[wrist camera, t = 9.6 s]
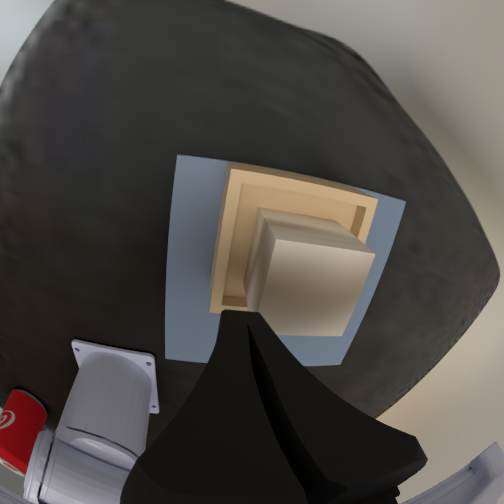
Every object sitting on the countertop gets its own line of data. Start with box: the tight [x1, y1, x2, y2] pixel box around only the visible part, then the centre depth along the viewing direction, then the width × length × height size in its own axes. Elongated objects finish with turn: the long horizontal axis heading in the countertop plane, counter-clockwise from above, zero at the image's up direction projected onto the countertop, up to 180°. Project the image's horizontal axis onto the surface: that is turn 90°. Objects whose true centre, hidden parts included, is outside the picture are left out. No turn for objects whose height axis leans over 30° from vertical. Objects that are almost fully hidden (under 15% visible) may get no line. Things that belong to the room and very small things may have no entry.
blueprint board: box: [165, 154, 406, 366], centre depth 18 cm, size 16×16×4 cm
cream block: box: [243, 207, 375, 336], centre depth 13 cm, size 4×4×4 cm
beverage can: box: [0, 389, 47, 476], centre depth 19 cm, size 6×6×12 cm
